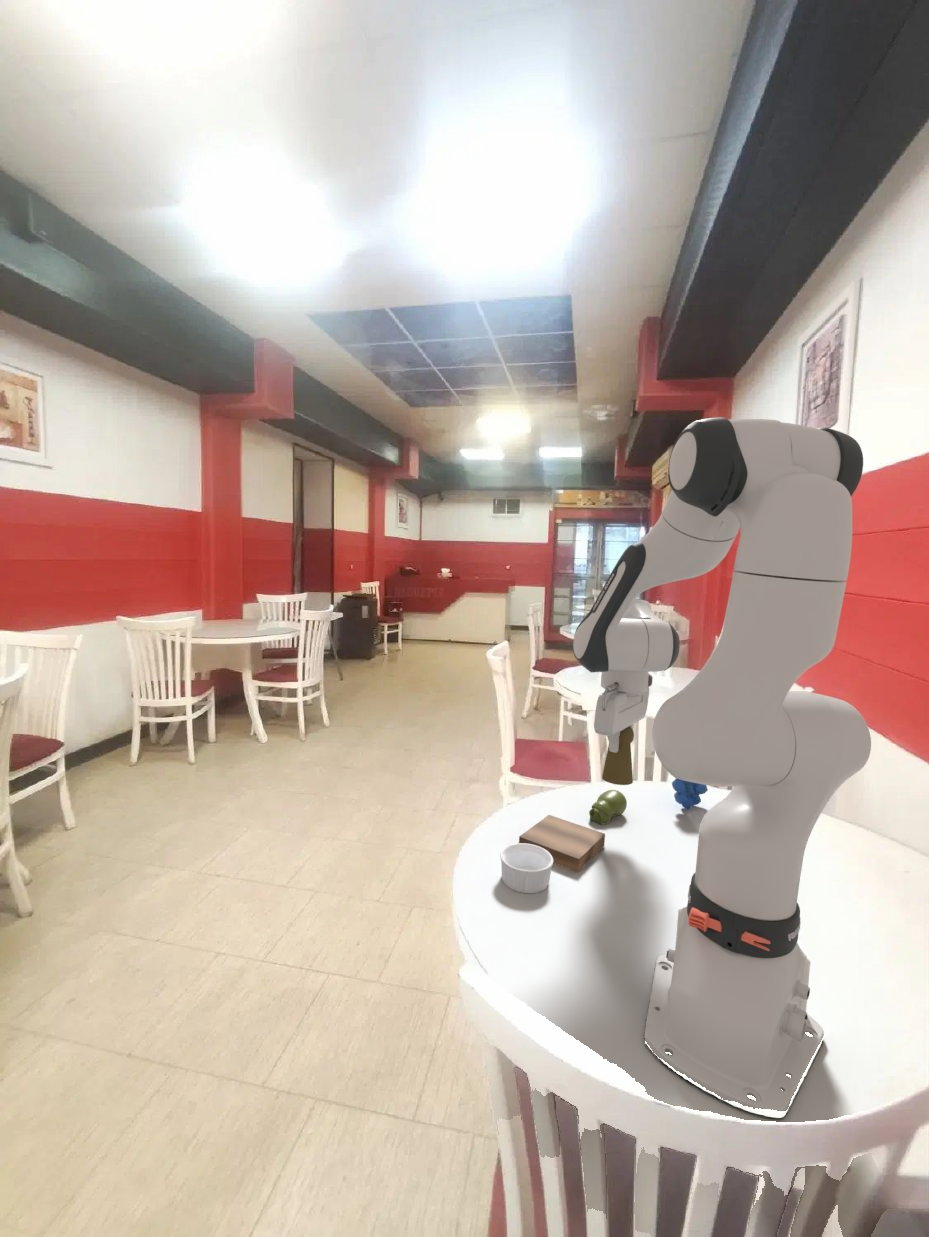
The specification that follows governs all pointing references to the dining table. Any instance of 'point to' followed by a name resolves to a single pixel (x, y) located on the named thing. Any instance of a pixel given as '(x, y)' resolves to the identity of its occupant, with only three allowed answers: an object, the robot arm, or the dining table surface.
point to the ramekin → (526, 867)
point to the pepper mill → (620, 761)
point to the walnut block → (565, 841)
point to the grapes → (688, 792)
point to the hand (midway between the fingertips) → (619, 748)
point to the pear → (608, 806)
